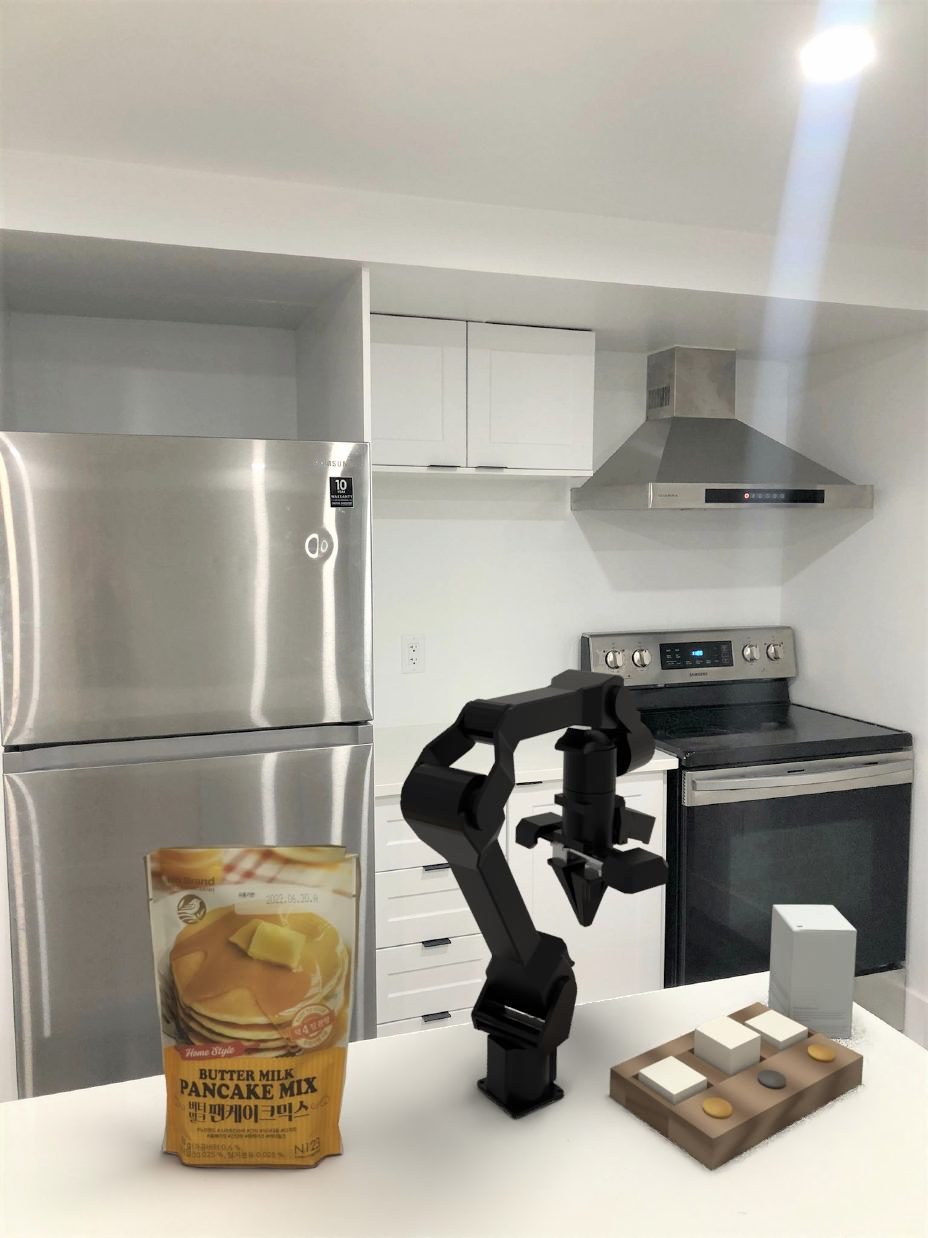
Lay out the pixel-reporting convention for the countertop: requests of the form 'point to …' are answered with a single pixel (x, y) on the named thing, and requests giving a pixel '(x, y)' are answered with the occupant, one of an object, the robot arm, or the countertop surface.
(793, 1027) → the far button
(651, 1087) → the near button
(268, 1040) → the pancake mix bag
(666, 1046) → the button board
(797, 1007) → the supplement box
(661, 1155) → the countertop surface
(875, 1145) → the countertop surface
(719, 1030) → the middle button
